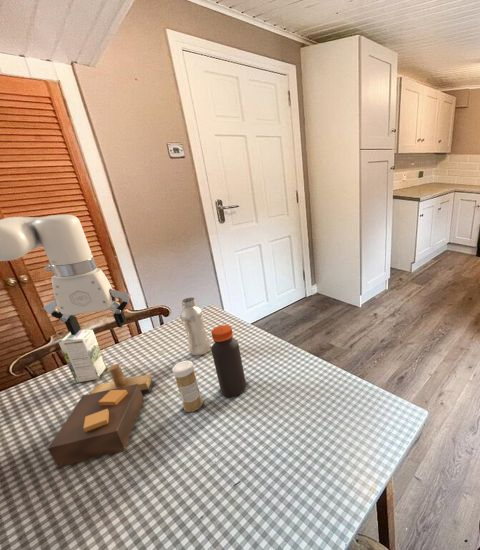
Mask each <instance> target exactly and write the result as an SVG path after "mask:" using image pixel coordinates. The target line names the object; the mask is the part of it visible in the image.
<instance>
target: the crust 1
mask: <svg viewBox="0 0 480 550" xmlns="http://www.w3.org/2000/svg"><path fill="white" fill-rule="evenodd" d="M108 418H109V411H108V409H105V410H102V411H100V412H97V413H94V414H91V415H88V416H86V417H85V422H84V427H83V429H84V431H85V432H87V431H90V430H92V429H95V428H98V427H100V426H103V425H106V424H108Z"/></svg>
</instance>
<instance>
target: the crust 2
mask: <svg viewBox="0 0 480 550" xmlns="http://www.w3.org/2000/svg"><path fill="white" fill-rule="evenodd" d="M127 394H128V393H127V390H110V391H109V392H108V393H107V394H106V395H105V396H104V397H103V398H102V399H101V400H100V401H99V405H117V404H118V403H119V402H120V401H121V400H122V399H123V398H124V397H125V396H126V395H127Z"/></svg>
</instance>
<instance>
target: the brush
mask: <svg viewBox="0 0 480 550" xmlns="http://www.w3.org/2000/svg"><path fill="white" fill-rule="evenodd" d="M108 371H109V373H110V376H111V379H112V381H110V382H104V383H101V384H96V385H94V386H93V388H92V390H91V392H90V393H89V394H92V393H97V392H102V391H106V390H111V389H116V388H120V387H125V386H130V385H134V384H139V387H140V390H141V393H142V395H146V394H150V392H151V389H152V388H153V384H154V382H153V378H152V376H151V374H150V373H148V374H144V375H139V376H134V377H129V378H125V375H124V373H123V370H122V368H121V365H120V363H115V364H112V365H110V366H109V367H108Z"/></svg>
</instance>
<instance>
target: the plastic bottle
mask: <svg viewBox="0 0 480 550" xmlns="http://www.w3.org/2000/svg"><path fill="white" fill-rule="evenodd" d="M181 306H182V308H183V309H182V310H181V313H180V316H179V318H180V321H181V324H182V325H183V327H184V330H185V332H186V335H187V342H188V344H187V345H188V347H187V348H188V351H189V353H190V354H191V355H193V356H202V355H204V354H207V353H208V352H209V351H210V350H211V341H210V339H209V336H208V334H207V331H206V328H205V323H204V312H203V310H202V308H200V307H199V306H198V305H197V301H196V299H195V297H186V298H183V299H182V300H181Z"/></svg>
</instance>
